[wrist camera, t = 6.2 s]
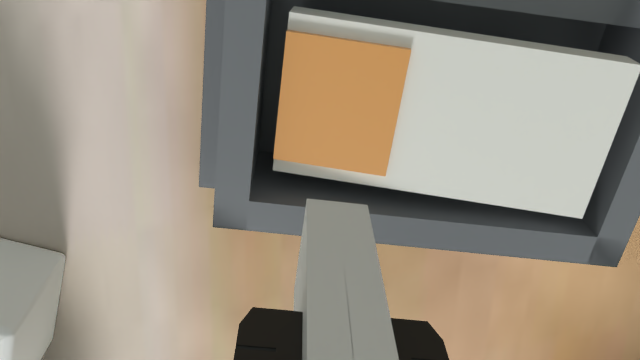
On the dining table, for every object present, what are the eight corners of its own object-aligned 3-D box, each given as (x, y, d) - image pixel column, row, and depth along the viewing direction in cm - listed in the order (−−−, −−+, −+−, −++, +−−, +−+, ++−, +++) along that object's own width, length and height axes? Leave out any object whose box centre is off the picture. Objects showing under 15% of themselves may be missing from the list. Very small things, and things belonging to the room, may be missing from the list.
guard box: (672, -35, 27) (781, -15, 21) (576, 214, 33) (638, 287, 27) (215, -101, 26) (186, -101, 19) (203, 174, 32) (178, 242, 25)
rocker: (627, 56, 23) (645, 67, 22) (571, 202, 26) (584, 222, 25) (294, 5, 24) (288, 13, 22) (277, 157, 27) (271, 173, 25)
